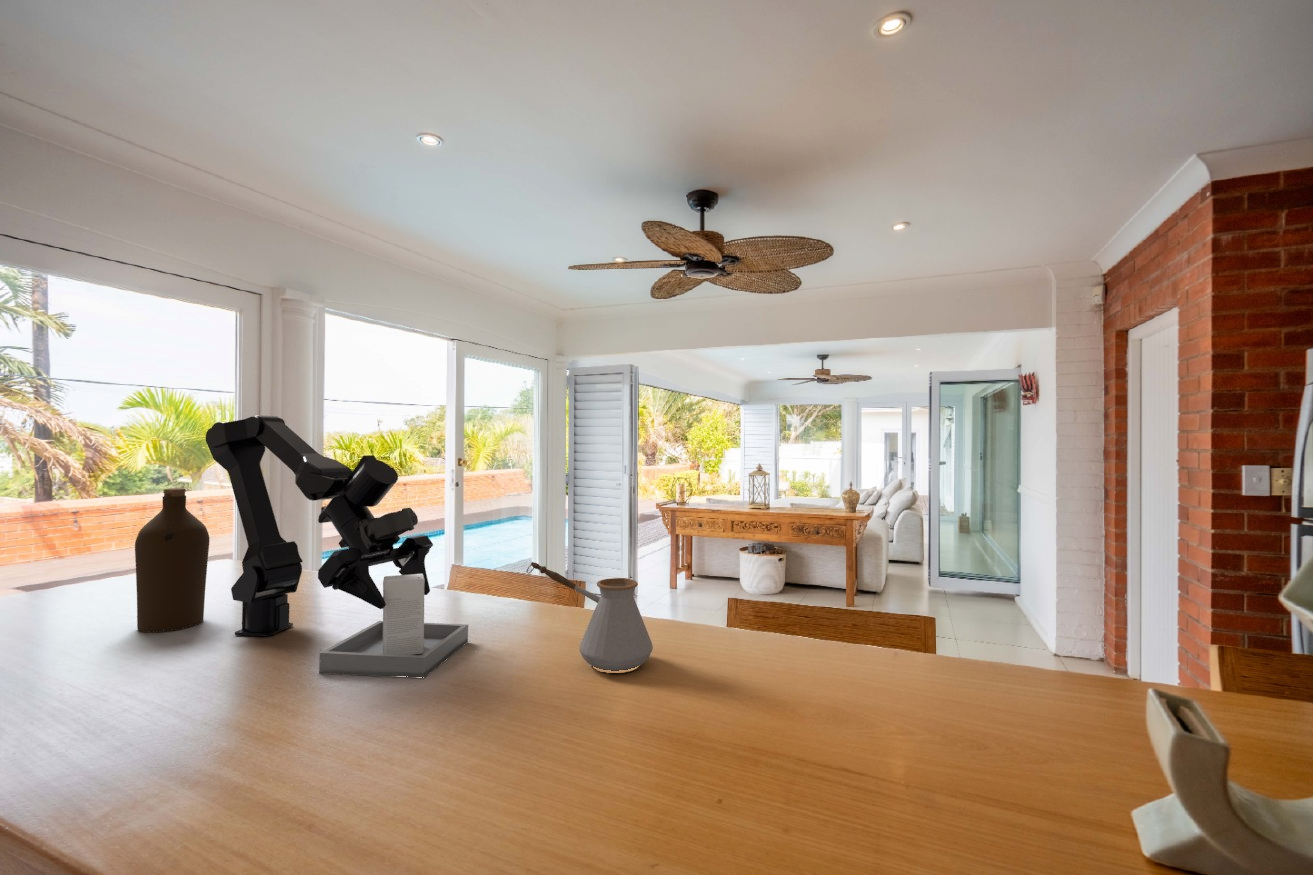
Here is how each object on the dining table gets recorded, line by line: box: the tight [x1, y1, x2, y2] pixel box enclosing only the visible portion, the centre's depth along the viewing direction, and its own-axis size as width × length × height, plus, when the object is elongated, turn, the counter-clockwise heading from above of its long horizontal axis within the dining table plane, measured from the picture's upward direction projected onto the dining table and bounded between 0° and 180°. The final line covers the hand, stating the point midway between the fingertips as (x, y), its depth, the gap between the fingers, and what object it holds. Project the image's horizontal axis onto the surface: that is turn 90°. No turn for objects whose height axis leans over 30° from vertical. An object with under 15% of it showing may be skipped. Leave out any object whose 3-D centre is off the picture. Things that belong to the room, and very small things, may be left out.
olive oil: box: [134, 487, 210, 633], centre depth 109 cm, size 11×11×25 cm
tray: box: [318, 620, 469, 678], centre depth 95 cm, size 16×16×3 cm
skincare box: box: [382, 574, 425, 655], centre depth 94 cm, size 6×4×12 cm
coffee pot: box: [526, 561, 654, 671], centre depth 94 cm, size 21×12×15 cm, turn 73°
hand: (406, 599), depth 94 cm, fingers open, 9 cm apart
